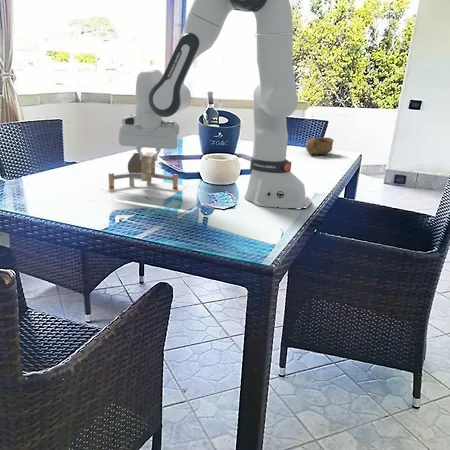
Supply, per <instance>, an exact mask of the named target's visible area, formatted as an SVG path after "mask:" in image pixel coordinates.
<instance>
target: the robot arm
mask: <svg viewBox="0 0 450 450" xmlns="http://www.w3.org/2000/svg"><path fill="white" fill-rule="evenodd" d="M232 11H238V12H239V11H240V12H243V13H244V12H245V13H247V12H248V13H250V12H252V13H253V14H254V17H255V21H256V62H257V66H258V67H257V68H258V75H259V82H260V83H259V84H257V86H256V87H255V89H254V91H253V127H254V128H253V130H254V132H253V133H254V134H253V148H252V156H251V159H250V166H249V172H250V176H249V182H248V185H247V189H246V191H245V195H244V199H245V200H247V201H249V202H251V203H253V204H254V205H255V206H259V207H265V208H266V207H268V208H277V207H279V208H280V209H288V208H304V207H307V206H308V205H309V204H310V203H312V199H311V198H310V197H309V196H307V195H306V188H305V185H304V182H303V181H302V180H301V179H299V178H298V177H297V176H296V175H295V174H294V173H292V171H291V170H292V161H290V160H288V159H287V149H288V142H289V141H288V140H289V133H288V127H287V126H288V125H287V117H289V116H291V115H293V113H294V112H295V111H296V110H297V108H298V103H299V99H298V98H299V97H298V94H297V88H296V78H295V72H294V71H295V69H294V61H293V47H294V46H293V44H294V43H293V40H294V39H293V38H294V35H293V34H294V33H293V31H294V29H293V28H294V27H293V14H292V7H291V2H290V0H193V3H192V5H191V8H190V9H189V12H188V14H187V16H186V21H185V23H184V26H183V29H182V31H181V35H180V37H179V38H178V42H177V45H176V47H175V49H174V51H173V54H172V55H171V57H170V59H169V62H168V65H167V67H166V69H165V71H164V73H163V72H162V71H160V70H159V69H152V70H151V69H150V70H143V71H141V72H140V73H138V75H137V77H136V82H135V83H136V84H135V99H136V108H135V114H131V115H127V116H125V117H123V118H122V119H121V126H120V128H119V132H118V144H119V145H120V146H121V147H133V148H134V147H135V148H136V153H139V155H140V160H142V157H143V156H144V155H145V154H146V153H144V154H143V152H142V151H141V150H142V149H143V148H146V149H149V148H150V149H155V155H153V161H155V162H157V161H158V156H159V154H160V153H161V152H162V151H161V150H163V149H164V150H176V149H178V147H179V136H178V135H179V134H180V125H179V124H178V123H177V122H175V121H167V120H163V118H168V117H171V116H173V115H174V114H176V113H179V112H182V111H184V110H185V109H187V108H188V107H189V105H190V104H191V101H192V100H191V99H192V96H191V95H192V94H191V92H190V90H189V88H188V87H187V86H186V85H185V84H184V82H185V80H186V77H187V76H188V73H189V70H190V69H191V67H192V65H193V63H194V62H195V60H196V59H197V58H198V57H199V56H201V55H202V54H203V53H205V52H207V51H208V50H209V49H211V48H212V47H213V45H214V44H215V43H216V41H217V39H218V37H219V36H220V33H221V31H222V29H223V26H224V24H225V21H226V19H227V17H228V16H229V14H230V13H231V12H232Z"/></svg>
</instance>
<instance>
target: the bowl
mask: <svg viewBox="0 0 450 450" xmlns="http://www.w3.org/2000/svg"><path fill="white" fill-rule="evenodd" d="M333 144H334V138H331V137H321V136H319V137H315V136H314V137H309V138H307V139H306V143H305V148H306V150H307V152H308V153H309V154H310V155H319V154H322V155H326V154H328V153H330V152H331V151H332V150H333Z"/></svg>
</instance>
